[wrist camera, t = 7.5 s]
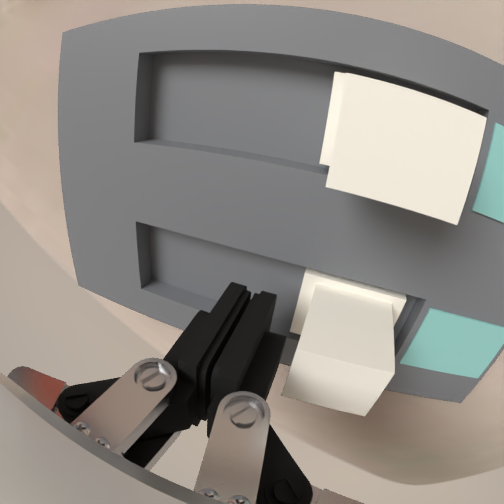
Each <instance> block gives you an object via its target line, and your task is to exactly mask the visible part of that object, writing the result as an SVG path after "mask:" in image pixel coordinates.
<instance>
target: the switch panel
mask: <svg viewBox="0 0 504 504" xmlns="http://www.w3.org/2000/svg"><path fill="white" fill-rule="evenodd" d="M335 72H340V73H345V74H346V73H351V74H355V75H360V76H364V77H368V78H372V79H376V80H380V81H384V82H388V83H391V84H395V85H398V86H402V87H405V88H409V89H412V90H415V91H418V92H421V93H424V94H427V95H430V96H433V97H436V98H439V99H442V100H444V101H447V102H450V103H452V104H455V105H457V106H460V107H463V108H465V109H467V110H470V111H472V112H475V113H477V114H479V115H482V116H484V117H486V118H487V120H486V125H485V130H484V134H483V139H482V143H481V147H480V152H479V156H478V160H477V163H476V167H475V171H474V174H473V178H472V181H471V185H470V188H469V191H468V194H467V198H466V201H465V204H464V207H463V210H462V213H461V216H460V218H459V221H458V224H457V225H455V224H452V223H449V222H446V221H443V220H440V219H437V218H434V217H431V216H428V215H424V214H421V213H418V212H415V211H412V210H408V209H405V208H402V207H398V206H395V205H391V204H388V203H384V202H381V201H377V200H374V199H370V198H366V197H363V196H359V195H355V194H352V193H348V192H344V191H340V190H336V189H332V188H328V187H326V182H327V177H328V172H329V167H330V166H327V165H323V164H319V163H320V157H321V152H322V146H323V141H324V135H325V129H326V123H327V117H328V111H329V105H330V99H331V93H332V86H333V79H334V73H335ZM58 139H59V159H60V172H61V183H62V193H63V201H64V209H65V216H66V223H67V229H68V236H69V241H70V247H71V252H72V257H73V262H74V267H75V272H76V276H77V281H78V285H79V286H81V287H83V288H85V289H87V290H89V291H92V292H94V293H96V294H98V295H100V296H102V297H105V298H107V299H109V300H111V301H113V302H116V303H118V304H120V305H123V306H125V307H127V308H129V309H132V310H134V311H136V312H139V313H141V314H144V315H146V316H148V317H151V318H153V319H156V320H158V321H161V322H163V323H166V324H168V325H171V326H173V327H176V328H179V329H181V330H185V329H186V327H187V326H188V325H189V323H190V322H191V321H192V319H193V318H194V317H195V315H196V314H197V313H198V312H199V311H200V310H203V311H206V312H209V313H210V312H211V310H212V309H213V307H214V306H215V304H216V303H217V302H218V300H219V299H220V297H221V296H222V294H223V293H224V291H225V290H226V288H227V287H228V286H229V284H230V283H231V282H235V283H238V284H241V285H245V286H247V291H251V299H252V297H253V295H254V293H258V294H260V293H261V291H266V292H269V293H273V294H276V295H277V299H276V304H275V308H274V313H273V318H272V322H271V327H270V332H273V333H276V334H280V335H283V336H287V338H286V342H285V346H284V349H283V353H282V356H281V359H280V362H279V363H281V364H285V365H288V366H291V364H292V361H293V358H294V355H295V352H296V349H297V346H298V343H299V339H300V336H301V335H300V334H296V333H293V332H290V328H291V325H292V321H293V317H294V313H295V309H296V306H297V302H298V298H299V294H300V290H301V286H302V282H303V278H304V274H305V271H306V268H311V269H315V270H318V271H322V272H326V273H329V274H333V275H337V276H340V277H344V278H348V279H352V280H355V281H359V282H363V283H366V284H370V285H374V286H378V287H381V288H385V289H389V290H392V291H396V292H400V293H404V294H406V299H407V300H406V302H405V305H404V307H403V309H402V311H401V313H400V315H399V317H398V319H397V321H396V323H395V325H394V327H393V329H394V355H395V374H394V375H393V377H392V378H391V380H390V381H389V383H388V384H387V386H386V387H385V389H384V390H389V391H394V392H399V393H404V394H409V395H414V396H420V397H426V398H432V399H438V400H444V401H451V402H458V403H461V402H462V401H463V400H464V399H465V397H466V396H467V395H468V394H469V393H470V392H471V391H472V389H473V388H474V387H475V386H476V385H477V383H478V382H479V381H480V380H481V378H482V377H483V376H484V375H485V373H486V372H487V371H488V369H489V368H490V367H491V366H492V364H493V363H494V362H495V360H496V359H497V358H498V356H499V355H500V353H501V352H502V351H503V349H504V66H503V65H501V64H499V63H497V62H495V61H493V60H491V59H489V58H487V57H485V56H483V55H480V54H478V53H476V52H474V51H471V50H469V49H467V48H464V47H462V46H459V45H457V44H454V43H452V42H449V41H446V40H444V39H441V38H438V37H435V36H432V35H430V34H427V33H423V32H420V31H417V30H414V29H411V28H407V27H404V26H400V25H396V24H393V23H389V22H385V21H381V20H376V19H372V18H367V17H363V16H358V15H353V14H347V13H341V12H335V11H328V10H321V9H313V8H304V7H294V6H280V5H257V4H228V5H205V6H192V7H181V8H172V9H164V10H157V11H150V12H144V13H138V14H133V15H128V16H123V17H118V18H114V19H109V20H105V21H101V22H97V23H93V24H89V25H86V26H82V27H79V28H75V29H72V30H69V31H66V32H63V35H62V43H61V54H60V66H59V85H58ZM251 299H250V300H251Z"/></svg>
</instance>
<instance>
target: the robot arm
mask: <svg viewBox="0 0 504 504" xmlns="http://www.w3.org/2000/svg"><path fill="white" fill-rule="evenodd" d="M250 299H251V291H247V286H245V285H241V284H238V283H235V282H231V283H230V284H229V286H228V287H227V288H226V290H225V291H224V293H223V294H222V296H221V297H220V299H219V300H218V302H217V303H216V304H215V306H214V307H213V309H212V310H211V312H210V313H209V312H206V311H203V310H200V311H199V312H198V313H197V314H196V315H195V317H194V318H193V319H192V321H191V322H190V323H189V325H188V326H187V327H186V329H185V330H184V332H183V333H182V334H181V336H180V337H179V338H178V340H177V341H176V342H175V344H174V345H173V347H172V348H171V349H170V351H169V352H168V353H167V355H166V356H165V358H164V359H163V360H162V359H158V358H148V359H144V360H141V361H139V362H138V363H136V364H135V365H134V366H133V367H132V368H130V369H129V370H128V371H127V372H126V373H125V374H124V375H123V376H122V377H119V378H114V379H108V380H103V381H96V382H90V383H84V384H78V385H73V386H68V385H67V384H66V382H64V381H61V380H58V379H56V378H53V377H50V376H48V375H45V374H43V373H40V372H38V371H36V370H33V369H31V368H29V367H24V366H21V367H17V368H15V369H13V370H12V371H11V372H10V373H9V375H8V376H7V377H6V376H5V375H3V374H2V373H0V504H364V503H361V502H358V501H355V500H352V499H350V498H347V497H345V496H342V495H339V494H337V493H334V492H332V491H330V490H327V489H324V490H322V489H319V488H317V487H314V486H312V485H311V484H310V483H309V481H308V479H307V478H306V476H305V475H304V474H303V473H302V471H301V470H300V468H299V467H298V465H297V464H296V462H295V461H294V459H293V458H292V457H291V455H290V454H289V452H288V451H287V449H286V448H285V446H284V445H283V443H282V442H281V440H280V439H279V437H278V436H277V434H276V433H275V431H274V430H273V428H272V427H271V425H270V424H269V422H270V408H269V406H268V404H267V403H266V399H267V396H268V394H269V391H270V388H271V385H272V383H273V380H274V377H275V374H276V371H277V368H278V365H279V362H280V359H281V356H282V353H283V349H284V346H285V342H286V338H287V336H283V335H280V334H276V333H273V332H270V327H271V322H272V318H273V313H274V308H275V304H276V299H277V295H276V294H273V293H269V292H266V291H261V293H260V294H258V293H254V295H253V297H252V299H251V300H250ZM201 419H202V420H204V421H206V420H207V419H208V420H207V436H208V438H209V440H208V444H207V447H206V451H205V454H204V457H203V461H202V464H201V467H200V471H199V474H198V478H197V481H196V484H195V488H194V491H192V490H190V489H187V488H185V487H183V486H180V485H178V484H176V483H173V482H171V481H169V480H167V479H164V478H162V477H160V476H158V475H156V474H154V473H152V472H150V470H151V468H152V467H153V466H154V465H155V464H156V463H157V461H158V460H159V459H160V458H161V457H162V455H163V454H164V453H165V452H166V451H167V450H168V448H169V447H170V446H171V445H172V443H173V442H174V441H175V440H176V439H177V437H178V436H179V435H180V433H181V431H182V430H186V429H189V428H190V426H191V425H192V424H193V425H195V426H198V424H199V422H200V420H201Z"/></svg>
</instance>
